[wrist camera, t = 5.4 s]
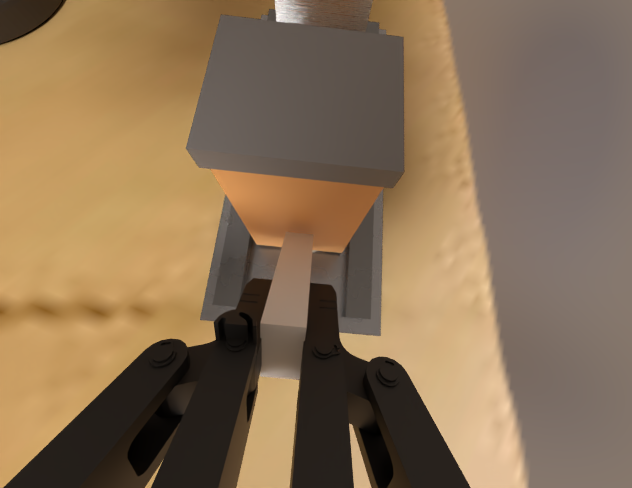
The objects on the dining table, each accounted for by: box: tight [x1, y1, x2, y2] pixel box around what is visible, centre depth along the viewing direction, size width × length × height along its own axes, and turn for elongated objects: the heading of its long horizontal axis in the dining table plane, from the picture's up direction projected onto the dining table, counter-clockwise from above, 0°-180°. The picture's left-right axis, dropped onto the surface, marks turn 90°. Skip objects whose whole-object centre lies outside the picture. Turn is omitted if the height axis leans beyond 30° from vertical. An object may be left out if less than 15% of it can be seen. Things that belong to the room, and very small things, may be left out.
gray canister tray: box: [200, 0, 386, 336], centre depth 16 cm, size 28×12×12 cm, turn 175°
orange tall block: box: [186, 15, 404, 253], centre depth 14 cm, size 5×6×11 cm
